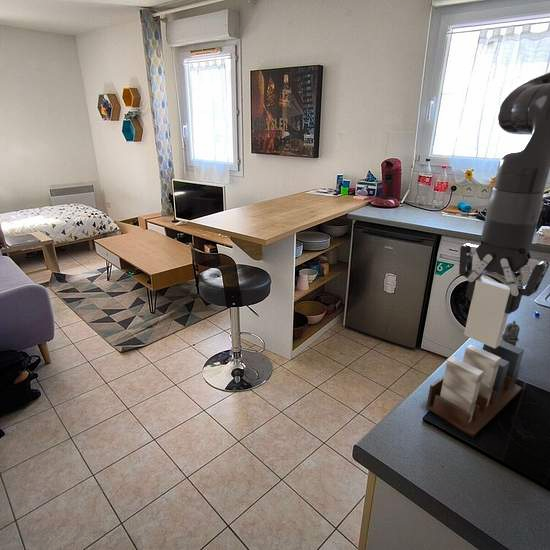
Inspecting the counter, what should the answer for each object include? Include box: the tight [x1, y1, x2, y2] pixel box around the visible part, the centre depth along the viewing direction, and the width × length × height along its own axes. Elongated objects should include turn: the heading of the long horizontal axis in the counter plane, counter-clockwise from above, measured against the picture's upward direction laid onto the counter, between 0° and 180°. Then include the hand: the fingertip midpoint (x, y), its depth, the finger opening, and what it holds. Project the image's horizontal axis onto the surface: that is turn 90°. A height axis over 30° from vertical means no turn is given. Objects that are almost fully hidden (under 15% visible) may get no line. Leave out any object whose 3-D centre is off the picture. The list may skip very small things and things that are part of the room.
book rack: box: [425, 339, 525, 438], centre depth 76 cm, size 10×22×13 cm, turn 127°
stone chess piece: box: [501, 320, 521, 347], centre depth 88 cm, size 6×6×12 cm
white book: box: [463, 277, 511, 348], centre depth 68 cm, size 6×2×12 cm, turn 36°
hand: (489, 305), depth 67 cm, fingers closed on white book, 6 cm apart
